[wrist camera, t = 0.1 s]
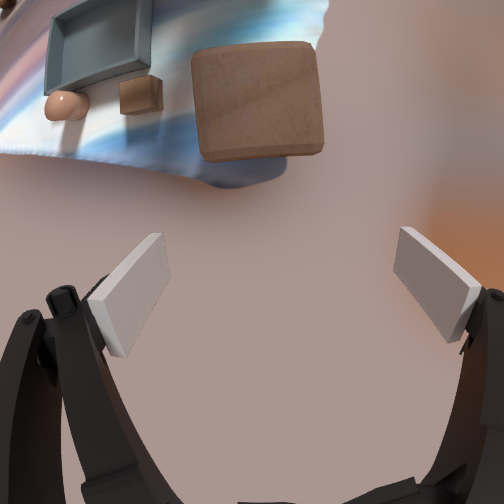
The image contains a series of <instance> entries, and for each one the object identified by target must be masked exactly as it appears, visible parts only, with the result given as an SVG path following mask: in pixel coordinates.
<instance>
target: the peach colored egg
mask: <svg viewBox="0 0 504 504" xmlns="http://www.w3.org/2000/svg"><path fill="white" fill-rule="evenodd" d="M89 105H90V101H89V98H88V96H87V95H86V94H84V93H77V92H68V91H55V92H53V93H52V94H51V95H50V96H49V97H48V99H47V101H46V104H45V116H46V118H47V119H48V120H50V121H60V120H79V119H81V118H83V117H84V116H85V115H86V113H87V112H88V109H89Z"/></svg>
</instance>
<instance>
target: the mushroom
mask: <svg viewBox="0 0 504 504" xmlns="http://www.w3.org/2000/svg"><path fill="white" fill-rule="evenodd" d="M14 2H15V0H0V8H2V9H6V8H9V7H11V6H12V5H13V4H14Z"/></svg>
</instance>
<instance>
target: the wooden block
mask: <svg viewBox="0 0 504 504" xmlns="http://www.w3.org/2000/svg"><path fill="white" fill-rule="evenodd" d="M191 69H192V81H193V92H194V102H195V112H196V122H197V131H198V140H199V148H200V153H201V155H202V157H203V159H204V160H205V161H209V162H212V163H216V162H225V161H234V160H245V159H256V158H269V157H285V156H306V155H315V154H317V153H319V152H321V151H322V148H323V145H324V130H323V117H322V105H321V95H320V85H319V77H318V68H317V61H316V53H315V50H314V49H313V47H312V46H311V44H310V43H307V42H303V41H277V42H258V43H246V44H237V45H228V46H221V47H214V48H208V49H202V50H200V51H198V52H195V53H194V55H193V58H192V60H191Z"/></svg>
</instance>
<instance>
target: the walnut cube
mask: <svg viewBox="0 0 504 504" xmlns="http://www.w3.org/2000/svg"><path fill="white" fill-rule="evenodd" d="M119 84H120V114H125V115H139V114H143V113H148V112H154V111H159V110H163V87H162V80H160V79H158V78H156V77H154V76H152V75H147V76H143V77H139V78H135V79H131V80H127V81H124V82H120V83H119Z"/></svg>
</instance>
